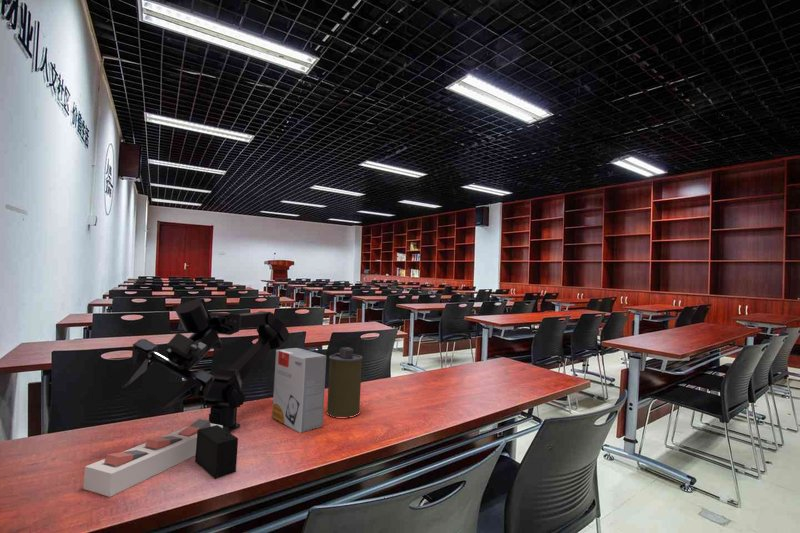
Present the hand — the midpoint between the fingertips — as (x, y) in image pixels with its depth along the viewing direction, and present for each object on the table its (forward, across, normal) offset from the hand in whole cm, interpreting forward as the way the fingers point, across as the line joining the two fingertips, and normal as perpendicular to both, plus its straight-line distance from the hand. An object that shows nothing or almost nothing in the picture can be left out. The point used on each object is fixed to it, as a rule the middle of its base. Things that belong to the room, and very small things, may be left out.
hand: (142, 397), depth 77 cm
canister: (-33, +41, +20) cm, 56 cm away
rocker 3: (-5, +10, +12) cm, 17 cm away
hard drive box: (-22, +30, +18) cm, 42 cm away
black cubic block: (+2, +20, +6) cm, 22 cm away
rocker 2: (+2, +8, +9) cm, 12 cm away
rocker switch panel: (+3, +10, +12) cm, 16 cm away
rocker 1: (+9, +5, +5) cm, 12 cm away
